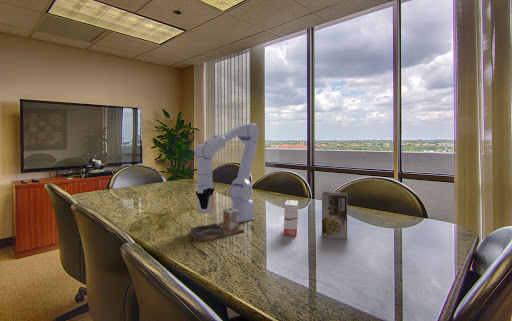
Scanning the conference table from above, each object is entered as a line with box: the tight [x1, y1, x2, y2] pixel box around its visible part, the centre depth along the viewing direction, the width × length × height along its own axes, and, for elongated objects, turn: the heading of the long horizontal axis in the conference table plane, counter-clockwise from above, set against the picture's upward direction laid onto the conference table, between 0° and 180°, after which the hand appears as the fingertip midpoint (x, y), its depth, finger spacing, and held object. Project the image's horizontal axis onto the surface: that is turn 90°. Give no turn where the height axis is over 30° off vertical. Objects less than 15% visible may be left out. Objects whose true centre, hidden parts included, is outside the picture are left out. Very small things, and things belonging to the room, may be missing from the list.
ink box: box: [283, 199, 299, 237], centre depth 105 cm, size 9×5×12 cm, turn 168°
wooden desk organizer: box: [188, 207, 245, 243], centre depth 105 cm, size 19×11×8 cm, turn 123°
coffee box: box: [321, 191, 348, 240], centre depth 101 cm, size 9×6×16 cm
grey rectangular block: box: [196, 193, 216, 214], centre depth 108 cm, size 4×6×7 cm, turn 84°
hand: (205, 207), depth 109 cm, fingers closed on grey rectangular block, 4 cm apart
